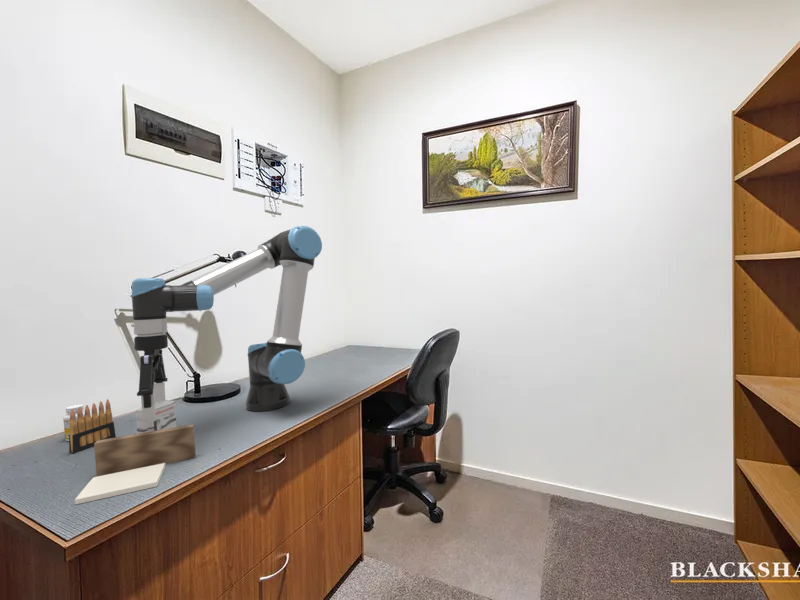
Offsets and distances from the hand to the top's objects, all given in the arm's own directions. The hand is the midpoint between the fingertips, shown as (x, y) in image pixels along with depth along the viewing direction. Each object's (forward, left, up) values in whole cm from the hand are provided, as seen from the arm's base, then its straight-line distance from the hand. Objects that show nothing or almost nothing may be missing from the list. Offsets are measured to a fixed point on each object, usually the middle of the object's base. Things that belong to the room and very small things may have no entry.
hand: (154, 412), depth 100 cm
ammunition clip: (+18, -12, -10) cm, 24 cm away
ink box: (0, 0, -10) cm, 10 cm away
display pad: (+3, +20, -10) cm, 22 cm away
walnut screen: (0, +12, -10) cm, 15 cm away
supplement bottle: (+25, -22, -10) cm, 35 cm away
